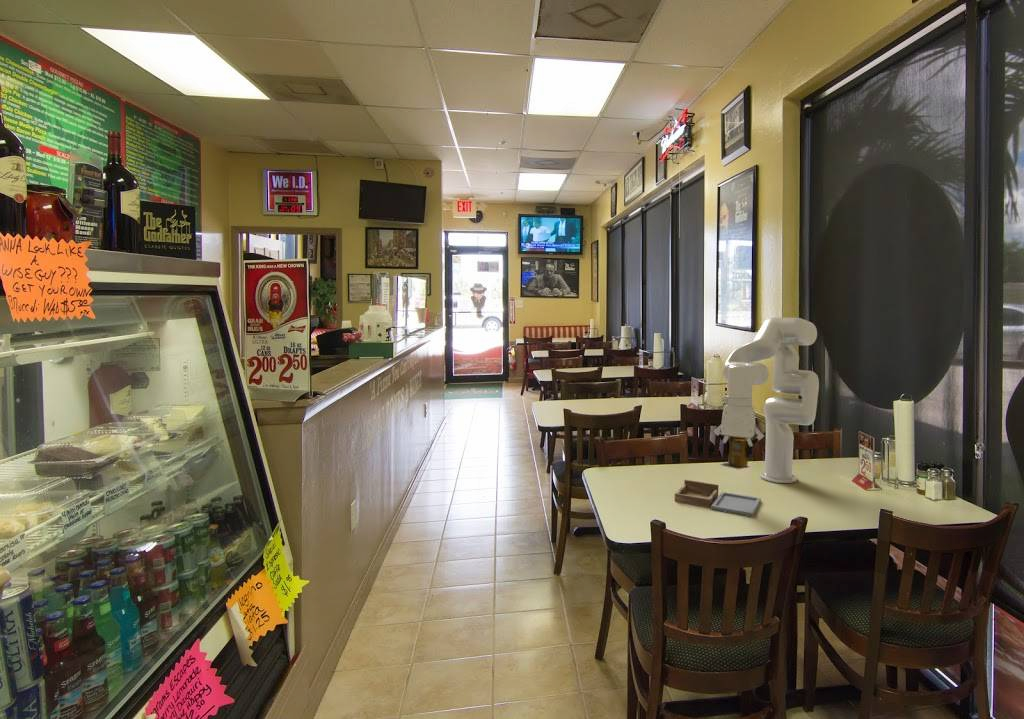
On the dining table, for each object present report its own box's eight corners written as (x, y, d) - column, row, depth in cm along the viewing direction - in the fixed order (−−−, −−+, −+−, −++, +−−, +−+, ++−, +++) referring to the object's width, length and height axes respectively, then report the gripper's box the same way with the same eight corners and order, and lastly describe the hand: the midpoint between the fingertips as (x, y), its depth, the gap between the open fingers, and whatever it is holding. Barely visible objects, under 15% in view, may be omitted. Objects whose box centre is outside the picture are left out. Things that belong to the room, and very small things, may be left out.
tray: (722, 494, 192) (722, 491, 192) (760, 501, 186) (760, 498, 186) (711, 509, 179) (711, 505, 179) (752, 516, 172) (752, 513, 172)
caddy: (684, 490, 198) (685, 479, 197) (718, 495, 192) (718, 484, 191) (674, 500, 187) (674, 489, 187) (709, 507, 181) (709, 495, 181)
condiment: (753, 466, 180) (754, 430, 180) (738, 470, 176) (739, 433, 175) (733, 462, 186) (734, 427, 186) (718, 465, 182) (719, 429, 181)
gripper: (709, 401, 181) (708, 454, 182) (766, 406, 171) (764, 462, 173) (714, 398, 187) (713, 449, 189) (769, 402, 178) (767, 456, 179)
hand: (737, 455), depth 181 cm, fingers closed on condiment, 6 cm apart
